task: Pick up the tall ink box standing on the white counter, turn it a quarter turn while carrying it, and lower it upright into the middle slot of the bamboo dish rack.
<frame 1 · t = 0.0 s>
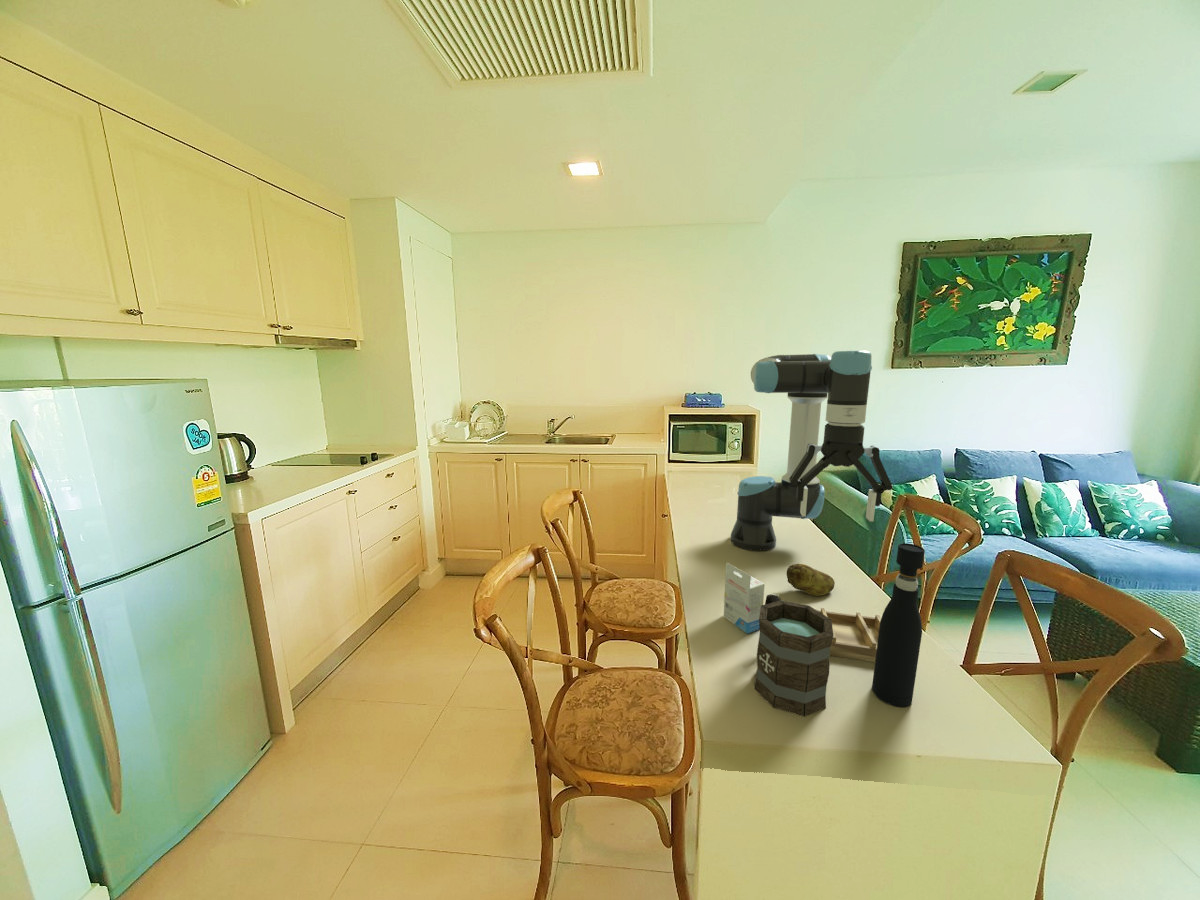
hand: (835, 517, 98), 28 cm above the countertop, fingers open, 13 cm apart
mug: (783, 678, 88), on the countertop
ink box: (742, 623, 107), on the countertop
potato: (809, 593, 120), on the countertop
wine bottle: (891, 695, 83), on the countertop
rack: (836, 639, 100), on the countertop
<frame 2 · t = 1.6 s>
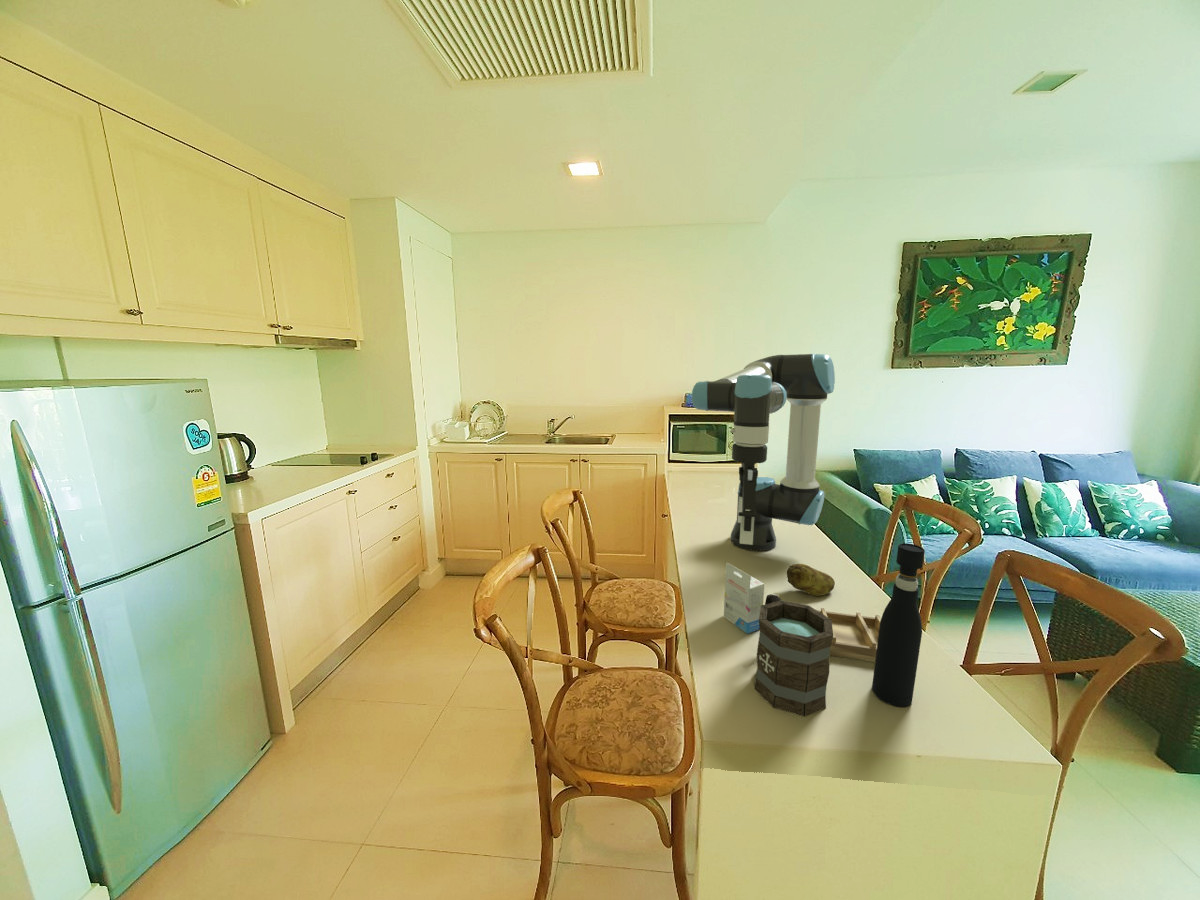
hand: (744, 532, 103), 23 cm above the countertop, fingers open, 13 cm apart
nothing on the countertop moved.
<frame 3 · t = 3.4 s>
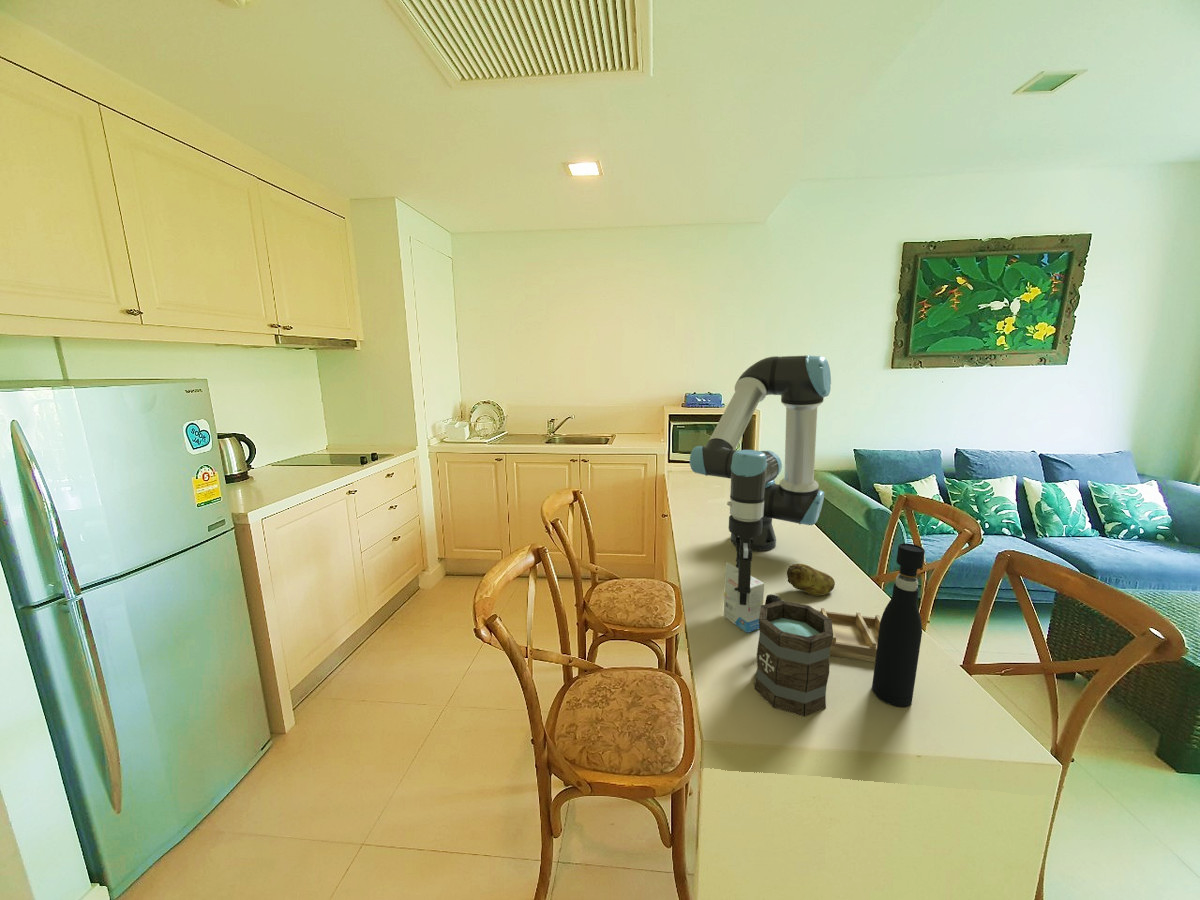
hand: (740, 604, 106), 5 cm above the countertop, fingers closed on ink box, 9 cm apart
ink box: (741, 622, 107), on the countertop, touching gripper
everything else where it was.
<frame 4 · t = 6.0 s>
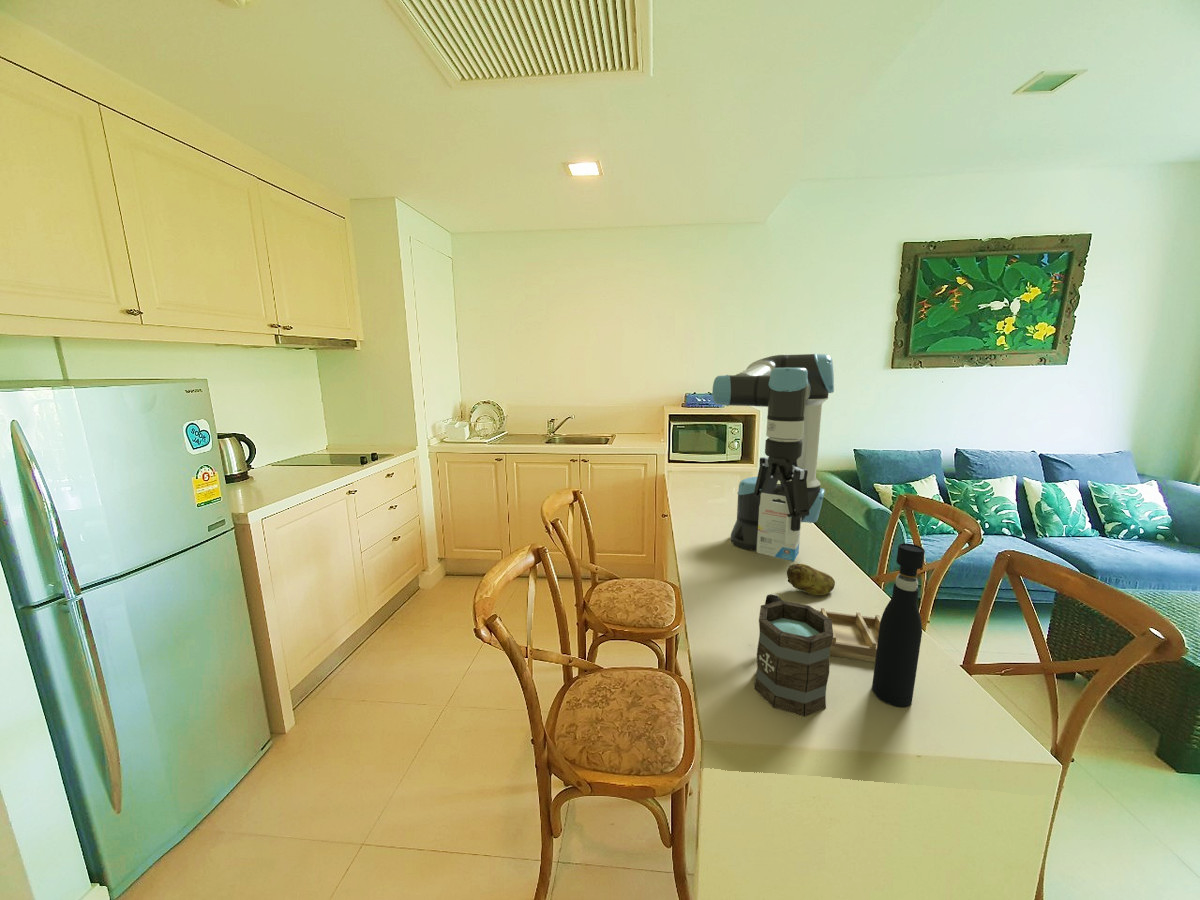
hand: (777, 534, 100), 24 cm above the countertop, fingers closed on ink box, 9 cm apart
ink box: (777, 554, 101), point 19 cm above the countertop, touching gripper
everything else where it was.
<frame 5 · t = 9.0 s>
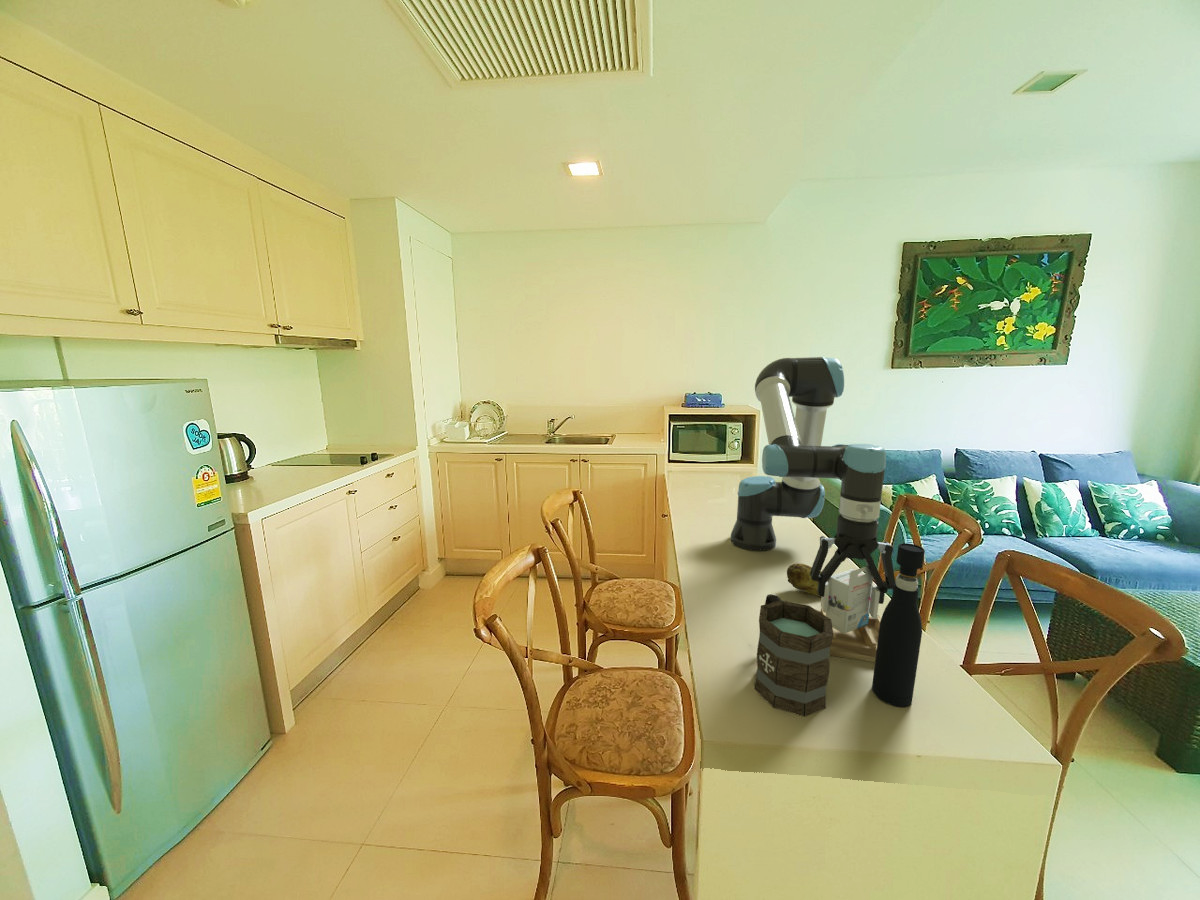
hand: (848, 612, 97), 7 cm above the countertop, fingers closed on ink box, 9 cm apart
ink box: (846, 624, 99), point 4 cm above the countertop, touching gripper, rack
everything else where it was.
when the fingers open (7 cm above the countertop, at t = 9.5 s): ink box stays where it is, resting on rack.
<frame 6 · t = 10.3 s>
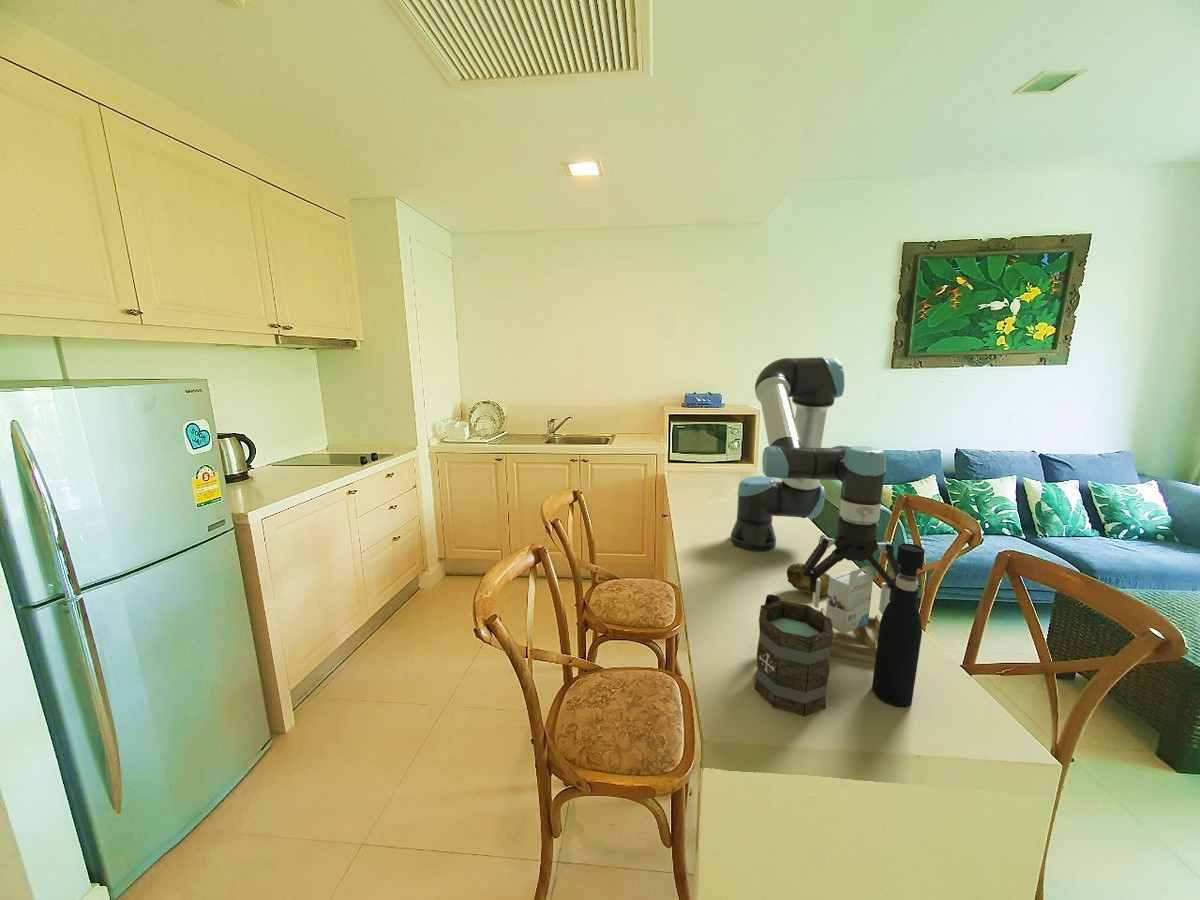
hand: (848, 608, 98), 8 cm above the countertop, fingers open, 13 cm apart
ink box: (846, 624, 99), point 4 cm above the countertop, touching rack
everything else where it was.
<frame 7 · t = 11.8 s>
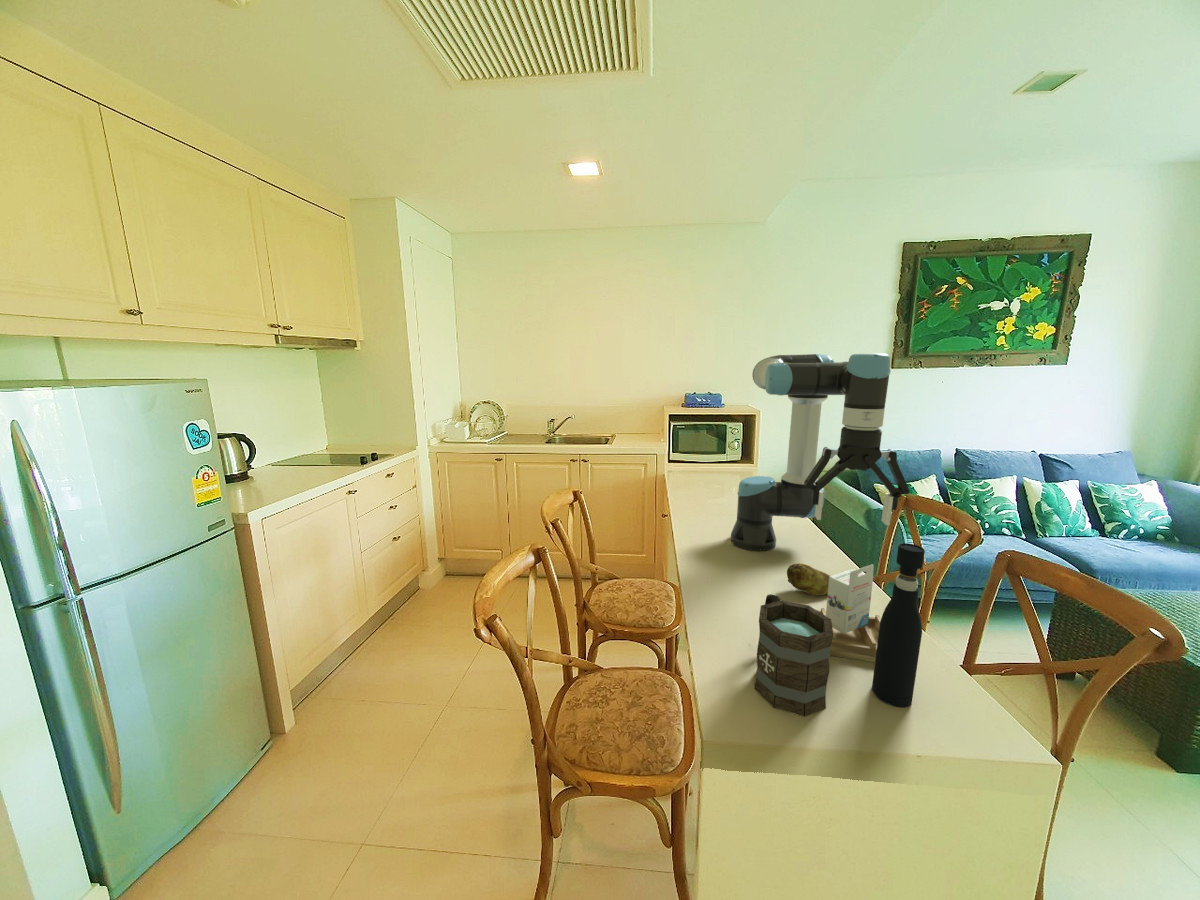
hand: (850, 520, 98), 27 cm above the countertop, fingers open, 13 cm apart
nothing on the countertop moved.
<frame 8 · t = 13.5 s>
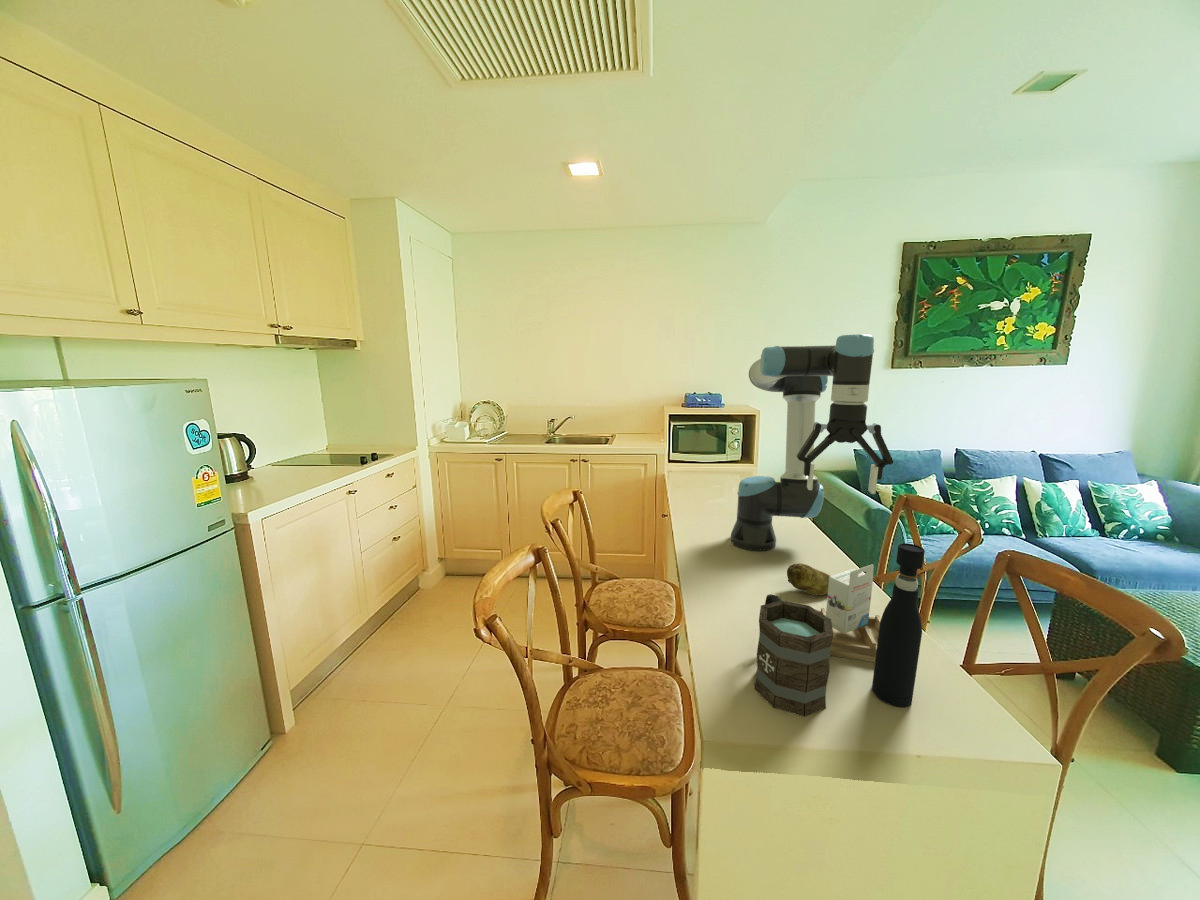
hand: (840, 490, 106), 32 cm above the countertop, fingers open, 13 cm apart
nothing on the countertop moved.
at the end: ink box 0.3 cm from the target spot on the rack, point 3.8 cm above the rack's base; ink box tilted 0°; the gripper is holding nothing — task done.
